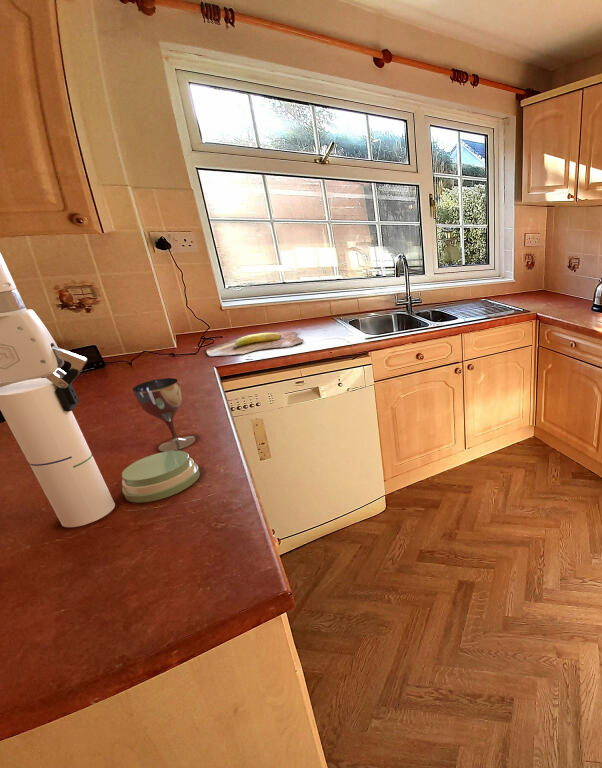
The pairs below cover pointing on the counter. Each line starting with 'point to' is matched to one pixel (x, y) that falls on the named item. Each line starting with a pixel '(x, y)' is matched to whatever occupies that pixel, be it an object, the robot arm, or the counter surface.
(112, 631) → the counter surface
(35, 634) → the counter surface
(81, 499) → the cylindrical container
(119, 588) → the counter surface
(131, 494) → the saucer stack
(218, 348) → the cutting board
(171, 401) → the wine glass
